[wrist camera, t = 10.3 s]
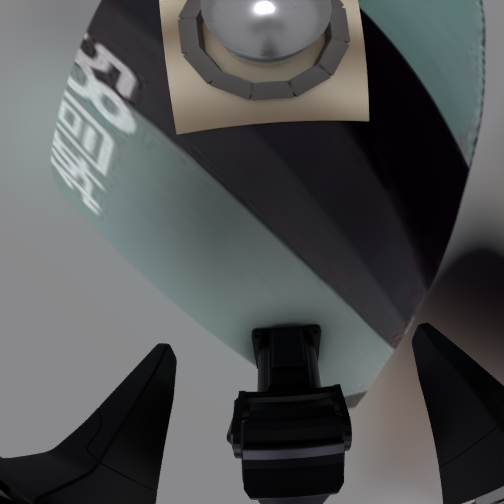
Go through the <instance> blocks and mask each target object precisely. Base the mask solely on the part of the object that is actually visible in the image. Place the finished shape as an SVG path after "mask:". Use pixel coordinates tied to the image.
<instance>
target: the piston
mask: <svg viewBox="0 0 504 504" xmlns="http://www.w3.org/2000/svg"><path fill="white" fill-rule="evenodd" d="M331 11H332V5H331V0H201V13H202V17H203V20H204V22H205V24H206V26H207V27H208V29H209V30H210V31H211V33H212V34H213V35H214V36H215V37H216V38H217V39H218V40H219V42H220V43H221V44H222V45H223V46H224V47H225V48H226V50H227V51H228V52H229V53H230V54H231V55H232V56H233V57H234V58H236V59H237V60H239V61H240V62H242V63H244V64H247V65H250V66H254V67H260V68H270V67H276V66H280V65H283V64H285V63H288V62H289V61H291V60H293V59H294V58H295V57H296V56H298V55H299V54H300V53H301V52H302V51H303V50H305V49H306V48H307V47H308V46H309V45H311V44H312V43H313V42H314V41H316V40H317V39H318V38H319V37H320V36H321V35H322V34H323V32H324V31H325V29H326V28H327V26H328V24H329V21H330V18H331Z"/></svg>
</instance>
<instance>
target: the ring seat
mask: <svg viewBox="0 0 504 504" xmlns="http://www.w3.org/2000/svg"><path fill="white" fill-rule="evenodd" d="M159 3H160V14H161V24H162V34H163V43H164V51H165V59H166V67H167V74H168V82H169V89H170V95H171V102H172V108H173V115H174V121H175V127H176V133H177V135H178V134H184V133H189V132H195V131H202V130H208V129H215V128H223V127H231V126H239V125H249V124H260V123H272V122H289V121H319V120H343V121H369V100H368V81H367V68H366V56H365V47H364V38H363V31H362V23H361V17H360V11H359V5H358V0H331V5H332V11H331V18H330V21H329V24H328V26H327V28H326V29H325V31H324V32H323V34H322V35H321V36H320V37H319V38H318V39H317V40H316V41H314V42H313V43H312V44H311V45H309V46H308V47H307V48H306V49H305V50H303V51H302V52H301V53H300V54H299V55H298V56H296V57H295V58H294V59H293V60H291V61H289V62H288V63H285V64H283V65H280V66H276V67H270V68H260V67H254V66H250V65H247V64H244V63H242V62H240V61H239V60H237V59H236V58H234V57H233V56H232V55H231V54H230V53H229V52H228V51H227V50H226V48H225V47H224V46H223V45H222V44H221V43H220V42H219V40H218V39H217V38H216V37H215V36H214V35H213V34H212V33H211V31H210V30H209V29H208V27H207V26H206V24H205V22H204V20H203V17H202V13H201V0H159Z"/></svg>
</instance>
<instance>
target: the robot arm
mask: <svg viewBox="0 0 504 504" xmlns="http://www.w3.org/2000/svg"><path fill="white" fill-rule="evenodd" d="M320 336H321V328H320V326H318V325H312V326H301V327H287V328H272V329H256V330H253V331H252V341H253V347H254V353H255V359H256V365H257V369H258V392H246V391H239V396H238V398H237V399H236V400H235V402H234V413H233V419H232V421H231V424H230V428H229V430H228V433H227V441H228V442H229V443H230V444H231V445H232V448H233V451H234V456H235V457H236V458H242V476H243V483H244V490H245V492H246V493H247V495H248V496H249V498H250V499H252V500H258V501H259V503H260V504H323V503H324V502H325V500H326V499H327V498H328V497H329V495H332V494H337V493H338V492H339V490H340V489H341V487H342V485H343V483H344V455H345V451H348V450H349V449H350V447H351V441H352V430H351V429H352V428H351V420H350V416H349V413H348V409H347V406H346V403H345V399H344V396H343V393H342V390H341V386H340V384H336V385H333V386H328V387H321V384H320V377H319V370H318V363H317V362H318V354H319V345H320ZM412 347H413V351H414V356H415V361H416V366H417V372H418V376H419V381H420V385H421V388H422V392H423V395H424V399H425V403H426V407H427V411H428V415H429V419H430V423H431V428H432V432H433V437H434V442H435V447H436V453H437V458H438V464H439V472H440V479H441V487H442V495H443V504H462V503H465V502H467V501H470V500H473V499H475V502H473V503H471V504H504V386H503V385H502V384H501V383H500V382H499V381H497V380H496V379H495V378H494V377H493V376H492V375H490V374H489V373H488V372H487V371H486V370H485V369H484V368H482V367H481V366H480V365H479V364H478V363H477V362H476V361H474V360H473V359H472V358H471V357H470V356H469V355H467V354H466V353H465V352H464V351H463V350H461V349H460V348H459V347H458V346H456V345H455V344H454V343H453V342H452V341H450V340H449V339H448V338H447V337H446V336H444V335H443V334H442V333H441V332H439V331H438V330H437V329H436V328H434V327H433V326H432V325H431V324H429V323H424V324H420V325H418V327H417V329H416V331H415V334H414V336H413V339H412ZM176 365H177V360H176V356H175V354H174V352H173V350H172V348H171V346H170V345H169V344H164V343H159V344H157V345H156V346H155V347H154V348H153V349H152V350H151V352H150V353H149V354H148V355H147V356H146V357H145V358H144V359H143V360H142V361H141V362H140V363H139V364H138V365H137V367H136V368H135V369H134V370H133V371H132V372H131V373H130V374H129V375H128V376H127V377H126V378H125V379H124V381H123V382H122V383H121V384H120V385H119V386H118V387H117V388H116V389H115V390H114V391H113V393H111V394H110V396H109V397H108V398H107V399H106V400H105V401H104V402H103V403H102V404H101V405H100V408H97V409H96V410H95V412H94V413H93V414H92V415H91V416H90V417H89V418H88V419H87V420H86V421H85V422H84V423H83V424H82V425H81V426H79V427H78V428H77V429H76V430H75V431H74V432H73V433H72V434H70V435H69V436H68V437H67V438H66V439H65V440H63V441H62V442H61V443H60V444H59V445H58V446H56V447H55V448H54V449H52V450H50V451H47V452H44V453H39V454H33V455H27V456H21V457H14V458H2V457H0V504H155V503H156V497H157V489H158V483H159V476H160V470H161V464H162V458H163V452H164V446H165V440H166V435H167V430H168V424H169V419H170V414H171V409H172V404H173V397H174V386H175V375H176Z"/></svg>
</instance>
